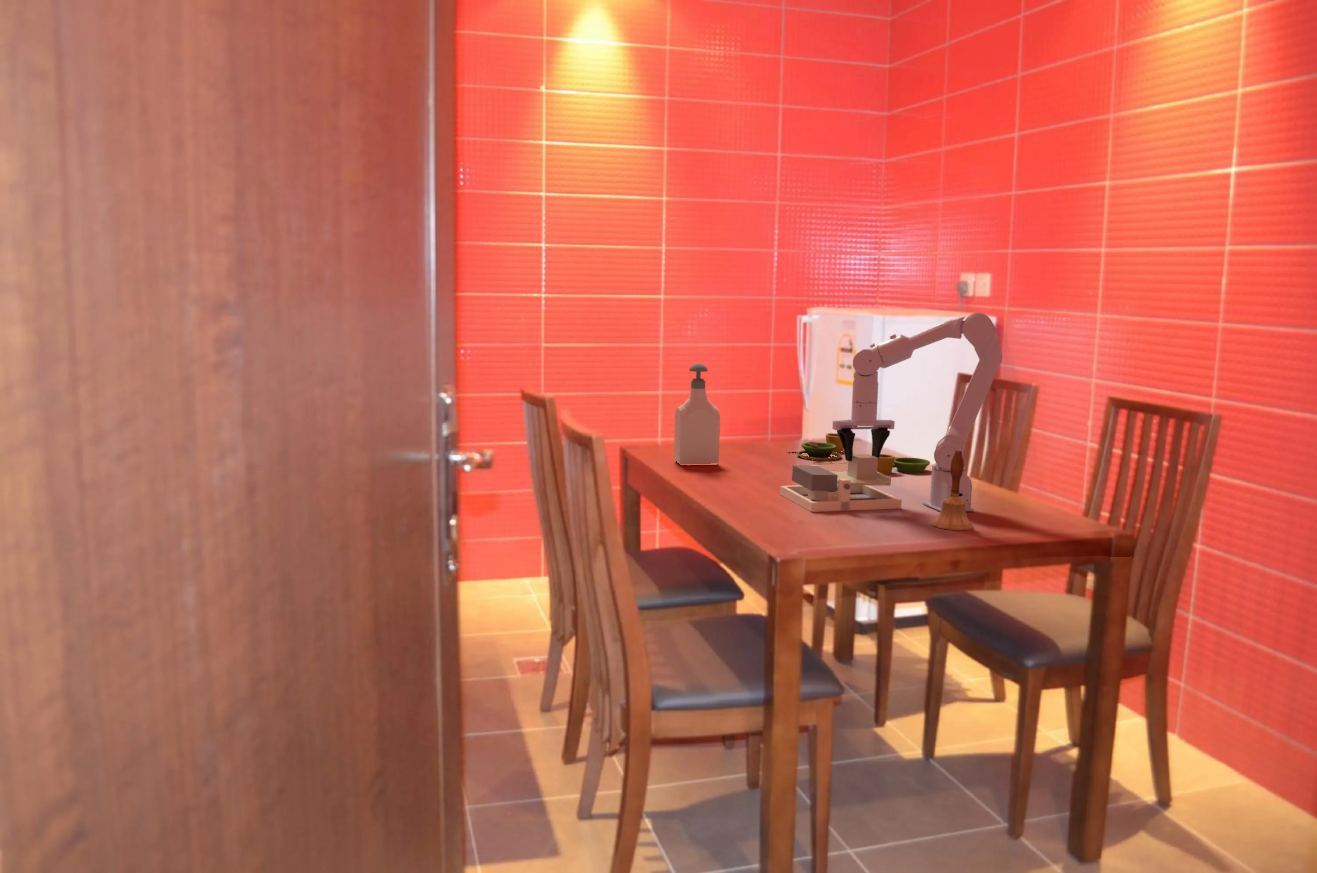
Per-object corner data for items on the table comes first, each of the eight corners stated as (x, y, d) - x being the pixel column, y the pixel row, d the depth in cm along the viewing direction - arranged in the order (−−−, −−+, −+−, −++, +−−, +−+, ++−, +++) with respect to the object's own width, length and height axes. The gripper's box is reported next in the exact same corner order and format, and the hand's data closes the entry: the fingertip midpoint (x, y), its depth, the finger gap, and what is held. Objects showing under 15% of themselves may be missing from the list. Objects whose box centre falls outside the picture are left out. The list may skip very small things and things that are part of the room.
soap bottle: (710, 460, 295) (713, 362, 290) (718, 465, 287) (721, 364, 282) (672, 461, 292) (674, 362, 288) (679, 466, 284) (681, 364, 280)
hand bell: (965, 521, 225) (970, 448, 223) (978, 531, 217) (983, 454, 214) (927, 521, 225) (931, 447, 222) (938, 530, 216) (943, 454, 214)
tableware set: (781, 453, 312) (781, 432, 311) (864, 450, 320) (865, 429, 319) (848, 479, 273) (849, 455, 272) (941, 475, 282) (942, 452, 281)
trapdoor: (889, 492, 238) (891, 476, 238) (813, 491, 234) (814, 475, 233) (863, 480, 252) (864, 465, 251) (790, 479, 247) (791, 464, 247)
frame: (902, 509, 236) (904, 479, 235) (812, 512, 231) (813, 482, 230) (863, 490, 256) (864, 463, 255) (778, 493, 251) (779, 465, 250)
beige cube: (876, 479, 242) (878, 457, 241) (856, 479, 240) (858, 457, 240) (866, 475, 246) (868, 454, 246) (847, 475, 245) (848, 454, 244)
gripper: (886, 399, 247) (883, 456, 249) (828, 400, 243) (825, 458, 245) (899, 403, 240) (896, 461, 242) (840, 403, 236) (838, 463, 238)
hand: (861, 460), depth 243 cm, fingers open, 6 cm apart
